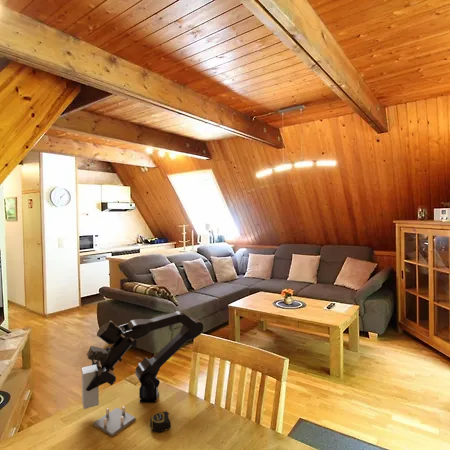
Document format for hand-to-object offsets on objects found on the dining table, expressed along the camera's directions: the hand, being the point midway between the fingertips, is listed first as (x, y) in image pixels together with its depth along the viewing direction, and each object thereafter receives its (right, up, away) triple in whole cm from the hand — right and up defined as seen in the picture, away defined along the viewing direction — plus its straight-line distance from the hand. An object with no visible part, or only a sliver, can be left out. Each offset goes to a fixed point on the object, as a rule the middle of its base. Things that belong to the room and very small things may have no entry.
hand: (86, 386), depth 116 cm
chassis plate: (+11, -12, -2) cm, 16 cm away
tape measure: (+28, -13, -3) cm, 31 cm away
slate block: (+1, -7, +1) cm, 7 cm away
